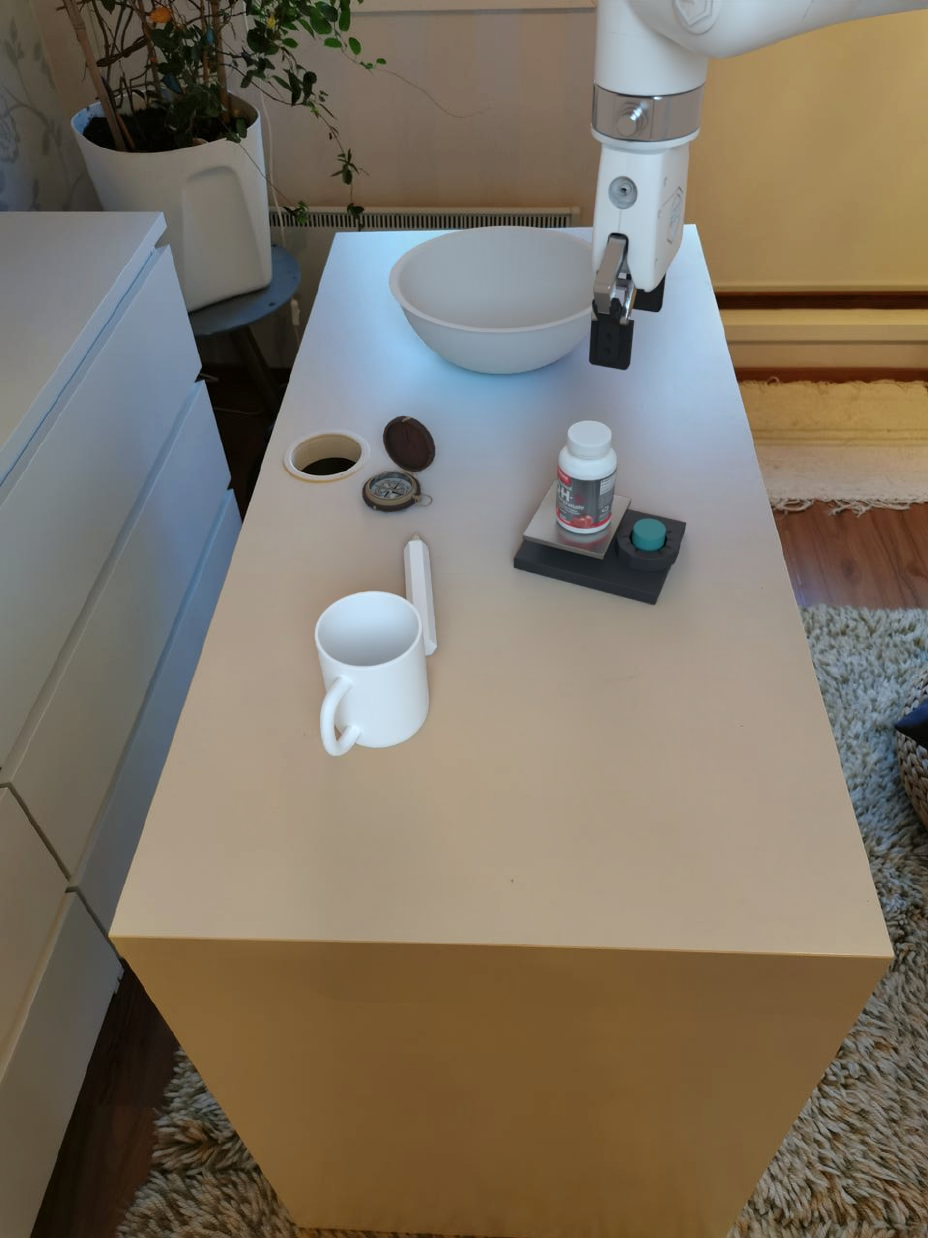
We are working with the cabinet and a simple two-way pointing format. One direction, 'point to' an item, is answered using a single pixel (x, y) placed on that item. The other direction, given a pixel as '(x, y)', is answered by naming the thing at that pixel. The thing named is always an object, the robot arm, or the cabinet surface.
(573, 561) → the scale
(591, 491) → the pill bottle
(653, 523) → the button
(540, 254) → the bowl
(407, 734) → the cup
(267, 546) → the cabinet surface
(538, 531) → the pan
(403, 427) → the compass
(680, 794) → the cabinet surface
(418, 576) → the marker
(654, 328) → the cabinet surface
